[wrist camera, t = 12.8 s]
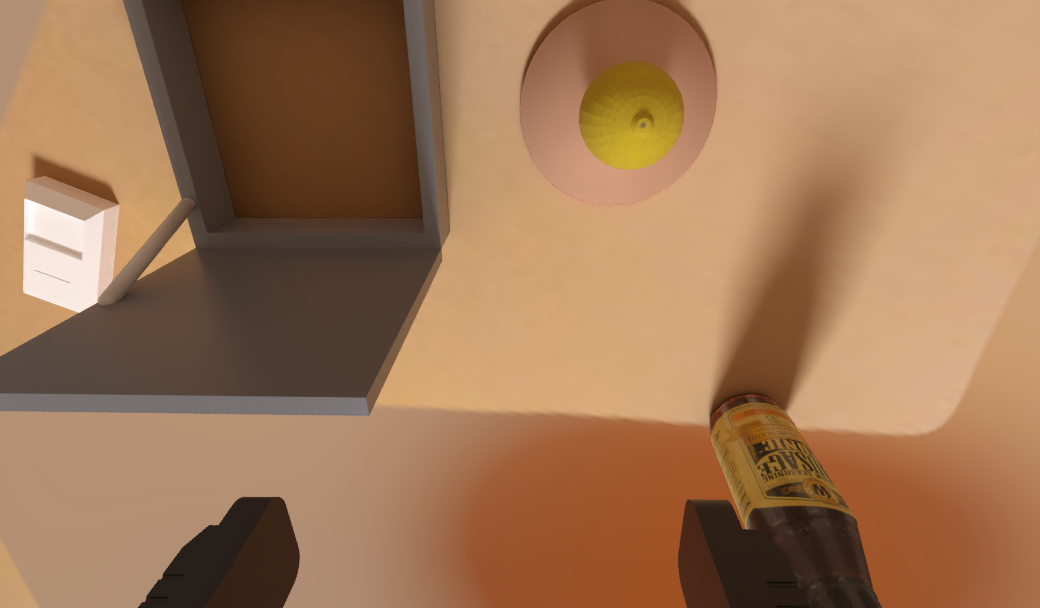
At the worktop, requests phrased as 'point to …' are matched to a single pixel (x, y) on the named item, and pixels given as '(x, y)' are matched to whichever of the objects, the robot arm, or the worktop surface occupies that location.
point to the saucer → (578, 61)
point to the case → (245, 276)
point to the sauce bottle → (791, 501)
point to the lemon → (631, 115)
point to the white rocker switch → (67, 243)
